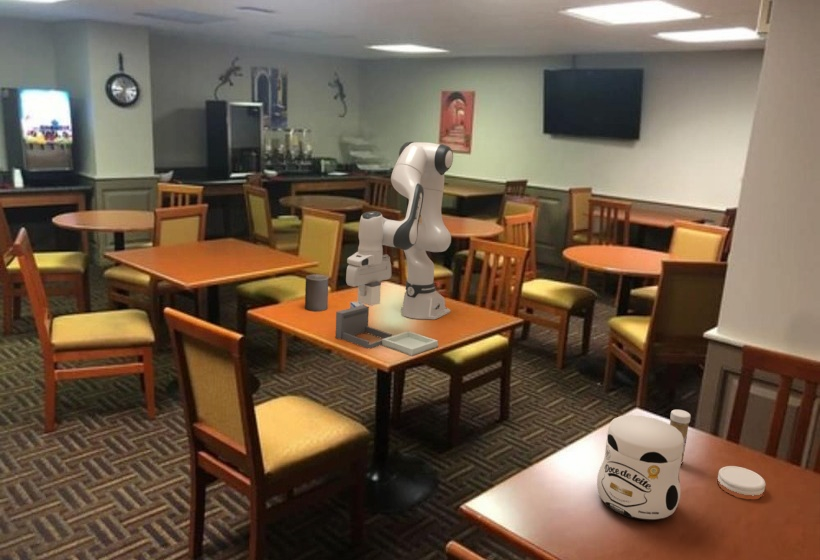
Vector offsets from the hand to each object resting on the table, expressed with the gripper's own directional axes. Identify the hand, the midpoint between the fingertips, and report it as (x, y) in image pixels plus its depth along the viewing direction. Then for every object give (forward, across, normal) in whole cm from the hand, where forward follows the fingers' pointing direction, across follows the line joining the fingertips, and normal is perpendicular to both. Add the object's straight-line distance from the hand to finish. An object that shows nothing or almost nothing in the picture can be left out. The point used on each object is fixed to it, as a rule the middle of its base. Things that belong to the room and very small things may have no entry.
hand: (368, 294), depth 242 cm
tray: (+18, -7, +15) cm, 24 cm away
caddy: (+3, 0, 0) cm, 3 cm away
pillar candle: (+18, -13, -43) cm, 48 cm away
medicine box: (+18, -10, -15) cm, 25 cm away
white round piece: (+18, +9, +132) cm, 133 cm away
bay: (+18, 0, -1) cm, 18 cm away
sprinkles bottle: (+18, +8, +116) cm, 118 cm away
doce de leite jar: (+17, +34, +117) cm, 123 cm away
